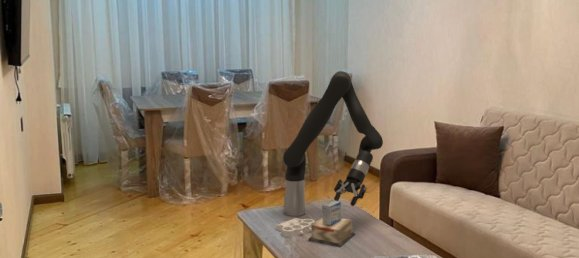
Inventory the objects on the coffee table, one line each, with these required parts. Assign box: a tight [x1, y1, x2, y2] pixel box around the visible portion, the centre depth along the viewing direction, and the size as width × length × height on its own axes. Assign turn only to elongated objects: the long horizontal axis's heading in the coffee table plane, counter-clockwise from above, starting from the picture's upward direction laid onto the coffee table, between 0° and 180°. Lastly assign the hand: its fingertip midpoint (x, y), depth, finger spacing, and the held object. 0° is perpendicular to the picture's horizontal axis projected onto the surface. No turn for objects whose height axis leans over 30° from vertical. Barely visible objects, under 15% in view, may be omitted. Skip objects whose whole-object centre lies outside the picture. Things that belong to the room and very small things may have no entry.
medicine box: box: [321, 200, 342, 226], centre depth 251 cm, size 8×4×9 cm, turn 141°
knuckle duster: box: [275, 217, 316, 238], centre depth 262 cm, size 3×18×15 cm
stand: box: [308, 217, 356, 248], centre depth 252 cm, size 15×15×7 cm
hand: (343, 203), depth 257 cm, fingers open, 8 cm apart
